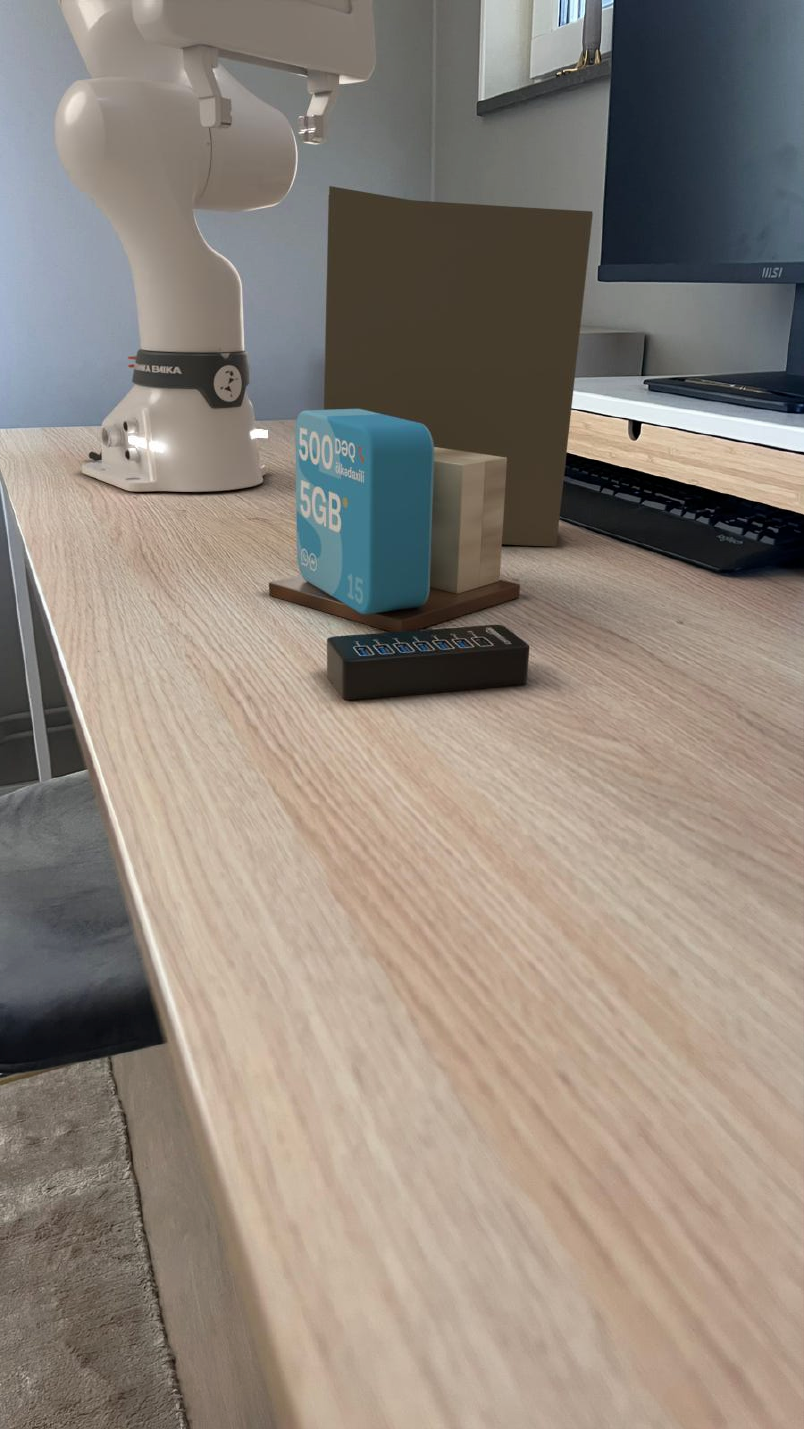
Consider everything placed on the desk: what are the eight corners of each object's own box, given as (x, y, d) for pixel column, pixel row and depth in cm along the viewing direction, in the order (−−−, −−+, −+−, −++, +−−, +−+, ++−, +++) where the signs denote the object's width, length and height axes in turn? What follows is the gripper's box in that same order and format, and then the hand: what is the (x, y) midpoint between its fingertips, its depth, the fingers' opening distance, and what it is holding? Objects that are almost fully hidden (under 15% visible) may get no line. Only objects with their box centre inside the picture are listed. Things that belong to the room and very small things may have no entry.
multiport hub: (325, 673, 60) (325, 635, 59) (500, 659, 63) (502, 623, 62) (344, 701, 56) (344, 660, 55) (529, 684, 59) (532, 645, 58)
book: (542, 530, 100) (576, 211, 90) (563, 553, 92) (603, 203, 81) (321, 522, 99) (328, 196, 88) (321, 545, 90) (329, 186, 79)
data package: (296, 576, 76) (293, 408, 72) (351, 570, 78) (352, 406, 74) (369, 621, 66) (371, 429, 62) (430, 612, 68) (436, 426, 64)
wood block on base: (268, 595, 75) (265, 455, 71) (389, 565, 84) (392, 439, 80) (401, 635, 67) (405, 479, 63) (519, 597, 76) (529, 459, 72)
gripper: (336, -47, 80) (336, 153, 86) (109, -125, 66) (126, 121, 72) (396, -63, 77) (392, 148, 82) (168, -149, 62) (182, 113, 68)
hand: (266, 135), depth 77 cm, fingers open, 8 cm apart
